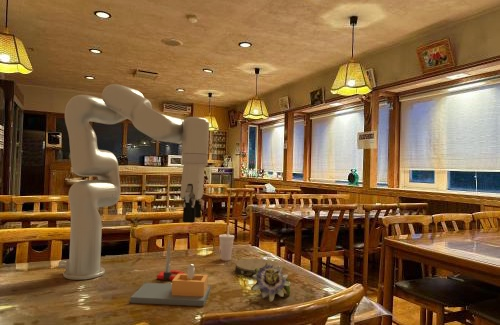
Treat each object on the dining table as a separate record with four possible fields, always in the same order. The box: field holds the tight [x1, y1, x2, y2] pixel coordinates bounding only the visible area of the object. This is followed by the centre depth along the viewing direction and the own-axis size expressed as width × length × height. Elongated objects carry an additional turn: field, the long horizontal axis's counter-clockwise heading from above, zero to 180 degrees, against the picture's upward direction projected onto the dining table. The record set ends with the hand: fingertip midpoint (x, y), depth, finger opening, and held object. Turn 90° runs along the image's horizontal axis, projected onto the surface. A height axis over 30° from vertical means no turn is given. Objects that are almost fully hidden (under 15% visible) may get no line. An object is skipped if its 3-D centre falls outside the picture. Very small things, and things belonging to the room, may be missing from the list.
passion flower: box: [250, 261, 292, 303], centre depth 103 cm, size 11×11×12 cm
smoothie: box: [218, 224, 235, 262], centre depth 143 cm, size 6×6×14 cm
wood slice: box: [235, 258, 280, 279], centre depth 127 cm, size 16×16×3 cm
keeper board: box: [130, 282, 211, 307], centre depth 100 cm, size 20×12×2 cm, turn 88°
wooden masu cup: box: [171, 273, 209, 297], centre depth 100 cm, size 9×7×4 cm
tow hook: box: [156, 240, 186, 282], centre depth 119 cm, size 8×13×9 cm
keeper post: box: [186, 263, 195, 280], centre depth 100 cm, size 2×2×8 cm
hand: (192, 219), depth 101 cm, fingers open, 9 cm apart
